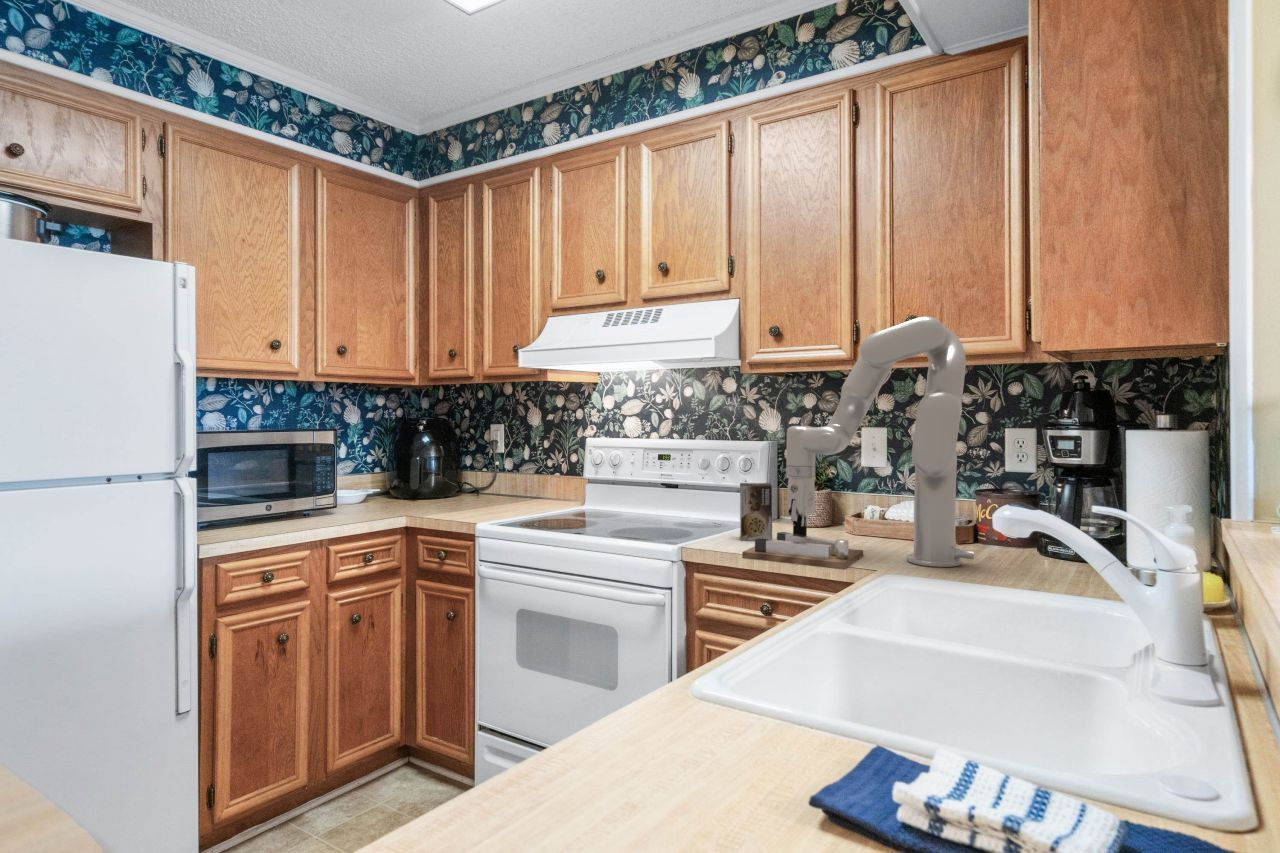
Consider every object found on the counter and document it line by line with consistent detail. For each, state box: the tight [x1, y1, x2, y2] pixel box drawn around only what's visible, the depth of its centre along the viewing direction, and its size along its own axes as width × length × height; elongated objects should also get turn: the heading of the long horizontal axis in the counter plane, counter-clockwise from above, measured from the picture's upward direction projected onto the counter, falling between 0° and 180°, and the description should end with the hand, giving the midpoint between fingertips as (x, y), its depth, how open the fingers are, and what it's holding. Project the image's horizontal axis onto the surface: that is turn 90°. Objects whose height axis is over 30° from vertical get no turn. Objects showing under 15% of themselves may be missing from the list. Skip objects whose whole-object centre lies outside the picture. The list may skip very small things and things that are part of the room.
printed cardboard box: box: [739, 482, 773, 542], centre depth 217 cm, size 9×6×16 cm
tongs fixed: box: [754, 538, 849, 560], centre depth 187 cm, size 23×4×4 cm, turn 60°
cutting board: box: [741, 546, 864, 570], centre depth 191 cm, size 26×18×2 cm
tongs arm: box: [776, 531, 836, 555], centre depth 193 cm, size 19×2×3 cm, turn 37°
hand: (799, 540), depth 199 cm, fingers closed
